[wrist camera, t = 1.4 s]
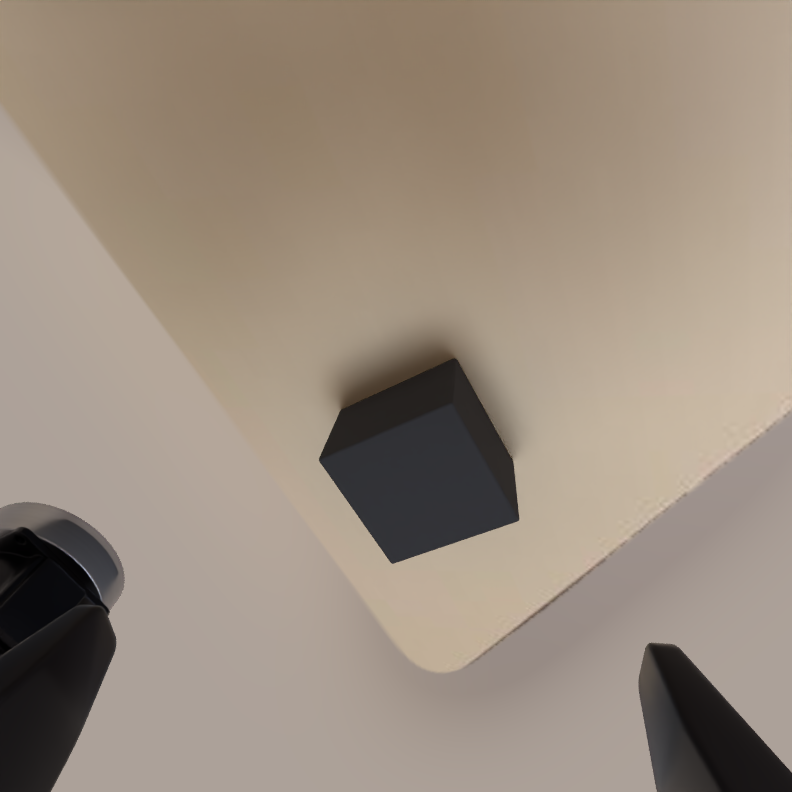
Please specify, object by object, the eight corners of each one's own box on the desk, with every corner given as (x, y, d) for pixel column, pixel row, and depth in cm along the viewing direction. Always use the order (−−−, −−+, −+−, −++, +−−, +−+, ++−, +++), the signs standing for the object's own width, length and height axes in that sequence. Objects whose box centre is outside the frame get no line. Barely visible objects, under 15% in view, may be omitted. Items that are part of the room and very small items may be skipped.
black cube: (402, 504, 24) (391, 565, 20) (339, 409, 22) (317, 460, 19) (514, 462, 22) (520, 521, 19) (455, 356, 20) (452, 401, 17)
